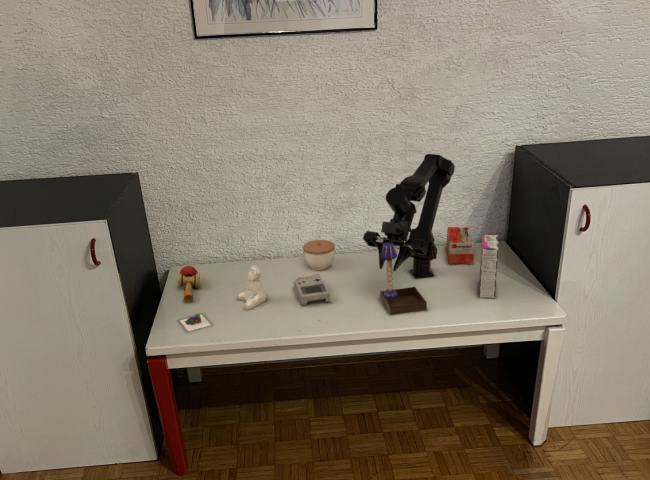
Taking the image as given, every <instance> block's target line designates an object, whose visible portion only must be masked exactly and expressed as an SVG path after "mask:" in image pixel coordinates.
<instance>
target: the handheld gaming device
mask: <svg viewBox="0 0 650 480" xmlns="http://www.w3.org/2000/svg"><path fill="white" fill-rule="evenodd" d="M293 288H294V290H295V292H296V295H297V298H298V299H299V301H300V304H301V305H302V306H306V305H307V304H308V303H311V302H317V301H325V302H326V303H327V302H330V301H331V292H330V290H329V289H328V287H327V285H326V283H325V281H324V280H323V278H322V275H320V273H317V274H311V275H305V276H300V277H298V278H296V279H294V281H293Z"/></svg>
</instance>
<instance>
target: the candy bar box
mask: <svg viewBox="0 0 650 480" xmlns="http://www.w3.org/2000/svg"><path fill="white" fill-rule="evenodd" d="M479 259H480V260H479V278H478V297H479V298H480V299H495V298H496V288H497V274H498V263H499V262H498V261H499V235H498V234H482V236H481V244H480V258H479Z"/></svg>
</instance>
